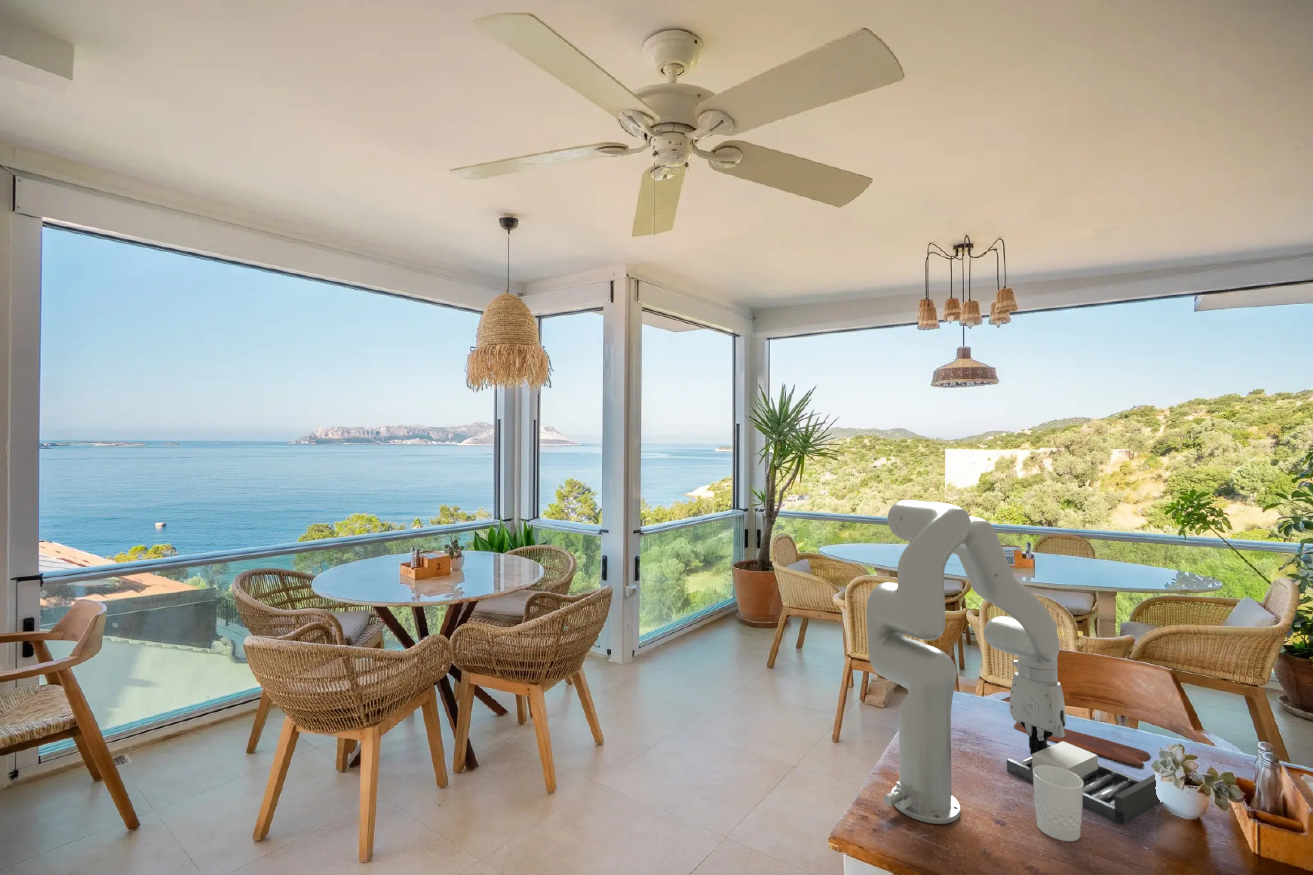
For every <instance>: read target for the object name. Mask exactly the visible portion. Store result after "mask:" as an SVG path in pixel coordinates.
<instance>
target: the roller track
mask: <svg viewBox="0 0 1313 875" xmlns="http://www.w3.org/2000/svg"><path fill="white" fill-rule="evenodd" d="M1052 745H1054V744H1053V743H1050V742H1047V748H1048V747H1050V746H1052ZM1006 771H1007V772H1009V773H1011V774H1013V775H1015V776H1017V777H1019V778H1021V779H1024V780H1026V781H1028V782H1030V783H1032V784H1034V783H1033V768H1032V756H1031V757H1028V758H1026V759H1024V760H1020V761H1016V760H1014V759H1012V758H1007V759H1006ZM1155 774H1156V773H1154V774H1152V775H1150V776H1149V777H1146V778H1145V779H1143V780H1140V779H1138V778H1135V777H1132V775H1131V776H1130V775H1128V774H1126V773H1124V772H1121V771H1119V770H1116V769H1114V768H1111V767H1108V766H1107V765H1104V764H1101V763H1099V762H1098V769H1097V770H1095V771H1093V772H1091V773H1089V774H1087V775H1085V776H1083V777H1080V778H1081V779H1082V780H1083V783H1084V785H1083V808H1084V809H1087V810H1088V811H1090V812H1093V813H1094V814H1097V815H1099V816H1101V817H1104V818H1106V819H1108V820H1109V821H1112V822H1114V823H1116V824H1118V825H1120V826H1124V825H1125V824H1127V823H1129V822H1131V821H1133V820H1134V819H1136V818H1137V817H1139V816H1141V815H1143V814H1145V813H1146V812H1148V811H1149V810H1151V809H1153V808H1154V806H1155V805H1156V806H1158V805H1159V804H1161V803H1160V800H1159V799H1158V797H1157V795H1156V789H1155V787H1156V780H1155ZM1156 806H1155V807H1156ZM1147 810H1148V811H1147Z"/></svg>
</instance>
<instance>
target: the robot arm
mask: <svg viewBox="0 0 1313 875" xmlns="http://www.w3.org/2000/svg"><path fill="white" fill-rule="evenodd" d="M887 525H888V528H889V529H890V531H891V533H893V534H894V535H895V537H897V538H899V539H901V540H904V541H905V542H909V543H908V545H907V546H906V547H905V548H904V550H903V551H902V553H901V555H900V557H899V560H898V562H897V563H898V564H897V582H893V581H885V582H881V583H879V584H877V585H876V586H875V587H874V588H872V590H871V592H870V593H869V596H868V598H867V603H866V631H867V632H866V633H867V647H868V648H867V650H868V652H867V653H868V658H869V662H870V665H871V668H872V669H873V670H874V672H875V673H876V674H878V675H879V676H881V677H882V678H883V679H886V680H888V681H891V682H893V683H896V684H898V685H899V686H901V687H903V688H904V689H906V690H907V695H906V697H905V699H904V700H903V701H902V702H901V704H900V707H899V709H898V773H899V774H898V781H896V783H895V786H893V787H892V789H891V791H890V792H889V793H887V794H884V795H883V801H884V802H883V803H885V805H886V806H887V807H891V806H894V807H895V808H896V809H897V810H898V811H900V812H901V813H902V814H904V815H905V816H906V817H909V818H911V819H914V820H917V821H920V822H922V823H926V824H927V823H928V824H936V825H945V824H951V823H953V822H954V821H956V820H958V819H959V818H960V816H961V805H960V803H959V801H958V800H957V799H956V797H954V795H952V708H953V707H952V704H953V698H954V692H955V689H956V688H955V687H956V683H957V675H958V674H957V673H958V672H957V667H956V664H955V662H954V660H953V659H952V658H951V657H950V655H949V654H947V653H946V652H945V651H943V650H942V649H939V648H938V647H936V646H932V645H930V644H928V643H924V642H922V641H935V640H939V638H940V637H941V636H943V634H944V631H945V629H946V628H945V627H946V600H945V599H946V598H945V597H946V595H945V569H946V566H947V564H948V563H947V562H948V561H949V559H950V558H951V556H952V555H953V554H954V555H957V556H958V559H959V561H960V563H961V565H962V568H963V570H964V573H965V575H966V577H967V580H968V583H969V584H970V587H971V589H972V591H973V592H975V594H976V595H978V596H979V597H981V599H983V600H985V601H986V602H988V603H990V604H992V605H993V606H994V607H997V608H998V609H1000V610H1002V611H1003V612H1005V613H1006V614H1008V615H1009V616H1007V615H1006V616H1004V615H1001V616H995V617H992V618H990V619H989V620H988V621H987V622H986V624H985V625H984V628H983V637H984V639H985V642H986V643H987V644H988V645H990V647H992V648H993V649H995V650H997V651H999V652H1002V653H1003V652H1004V653H1006V654H1009V655H1012V656H1016V657H1017V660H1015V659H1014V660H1013V661H1012V666H1014V667H1016V670H1017V671H1016V672H1014V673H1013V676H1012V681H1011V685H1010V693H1009V704H1008V706H1009V709H1008V710H1009V714H1010V715H1011V717H1012V719H1013V720H1014V721H1015V722H1019V723H1021V724H1022V726H1023V727H1024V729H1025V730H1026V733H1025V734H1026V735H1027V736H1028V747H1029V753H1030V755H1031V756H1032V754H1033V753H1036V752H1038V751H1041V750H1043V749H1045V748H1047V743H1048V740H1047V738H1049V737H1051V736H1053V737H1059V738H1061V737H1064V736H1065V733H1064V729H1063V728H1065V727H1066V720H1067V716H1066V705H1065V699H1064V698H1065V697H1064V692H1063V688H1062V685H1061V682H1060V681H1058V656H1059V652H1060V647H1061V645H1060V638H1059V635H1058V625H1057V623H1056V621H1055V620H1054V619H1053V618H1052V616H1051V614H1050V612H1049V611H1048V609H1047V608H1046V606H1045V604H1043V603H1042V602H1041V601H1040V600H1039V599H1038V597H1036V596H1035V595H1034V593H1032V592H1031V591H1030V590H1029V589H1028V588H1027V587H1026V586H1024V585H1023V584H1022V582H1020V581H1019V580H1017V579H1016V578H1015V576H1014V574H1013V572H1012V569H1011V567H1010V565H1009V562H1008V559H1007V557H1006V554H1005V552H1004V549H1003V546H1002V544H1001V541H1000V539H999V536H998V534H997V531H996V529H995V528H994V526H993V525H992V524H991V523H990V522H989V521H988V520H985V519H984V518H980V517H977V516H971V515H970V514H969V513H968V511H967V510H965V509H964V508H962V507H960V506H958V505H956V504H955V505H954V504H950V503H946V502H945V503H944V502H937V501H922V500H916V499H915V500H914V499H913V500H912V499H902V500H899V501H897V502H896V503H894V504H893V505H892V506H891V507H890V509H889V511H888V513H887ZM905 635H906V636H905ZM907 636H909V637H912V638H909V637H907ZM913 638H915V639H913ZM916 639H918V640H916ZM919 640H922V641H919Z"/></svg>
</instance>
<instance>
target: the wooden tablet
mask: <svg viewBox="0 0 1313 875" xmlns="http://www.w3.org/2000/svg"><path fill="white" fill-rule="evenodd" d="M1013 728H1014V729H1015V730H1016V731H1018V732H1021V733H1024V734H1026V730H1025V729H1024V727H1023V726H1022V724H1021V723H1019V722H1017V721H1015V724H1014V725H1013ZM1063 729H1064V733H1065V736H1064V737H1061V738H1059V737H1053V736H1051V737H1049V738H1047V741H1050V742H1052V743H1055V744H1057V743H1060V742H1062V741H1064V742H1066V743H1069V744H1071V745H1074V746H1076V747H1079V748H1081V749H1084V750H1086V751H1089V752H1091V753H1094V754H1096V755H1098V756H1099V757H1102V758H1105V759H1108V760H1110V761H1115V762H1118V763H1120V764H1123V765H1127V766H1129V767H1133V768H1138V769H1142V768H1144V762H1147V761H1149V760H1150V758H1151V754H1150V753H1149V752H1147V751H1145V750H1142V749H1140V748H1136V747H1132V746H1130V745H1126V744H1123V743H1118V742H1116V741H1111V740H1108V739H1105V738H1102V737H1101V738H1100V737H1097V736H1094V735H1091V734H1087V733H1082V732H1079V731H1077V730H1076V731H1075V730H1071V729H1069V728H1065V727H1064V728H1063Z"/></svg>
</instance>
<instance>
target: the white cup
mask: <svg viewBox="0 0 1313 875" xmlns="http://www.w3.org/2000/svg"><path fill="white" fill-rule="evenodd" d="M1032 784H1033V796H1034V809H1035V813H1036V815H1035V816H1036V824H1037V828H1038V829H1039V830H1040V831H1041V832H1042V833H1044V834H1045V835H1047V836H1048V837H1050V838H1053V839H1056V840H1059V841H1065V842H1075V841H1076V842H1077V841H1078V840H1080V839H1081V826H1082V825H1081V823H1082V820H1083V808H1084V807H1083V785H1084V783H1083V780H1082V779H1081V778H1080V777H1079V776H1078V775H1076V774H1074V773H1073V772H1071V771H1068V770H1066V769H1063V768H1060V767H1055V766H1049V765H1040V766H1036V767H1034V768H1033V783H1032Z"/></svg>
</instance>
